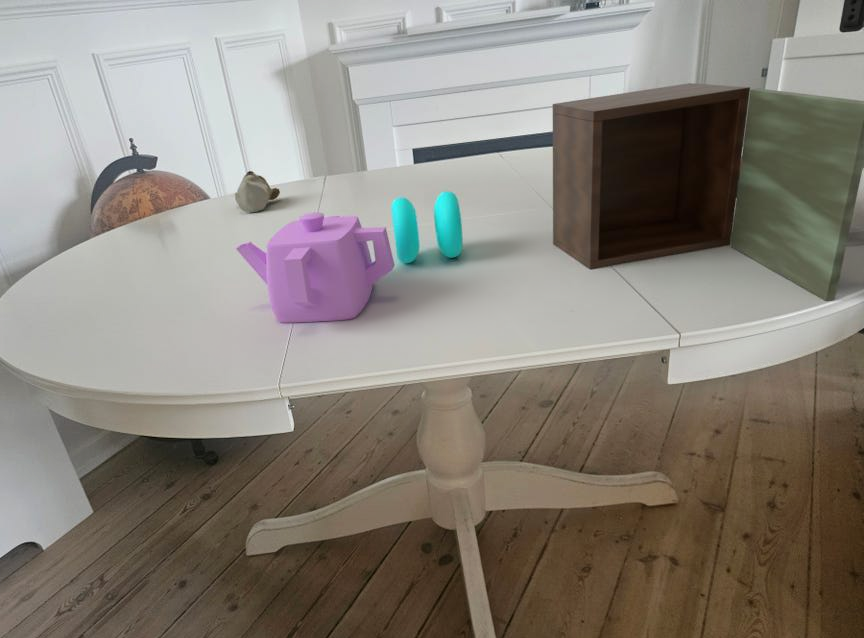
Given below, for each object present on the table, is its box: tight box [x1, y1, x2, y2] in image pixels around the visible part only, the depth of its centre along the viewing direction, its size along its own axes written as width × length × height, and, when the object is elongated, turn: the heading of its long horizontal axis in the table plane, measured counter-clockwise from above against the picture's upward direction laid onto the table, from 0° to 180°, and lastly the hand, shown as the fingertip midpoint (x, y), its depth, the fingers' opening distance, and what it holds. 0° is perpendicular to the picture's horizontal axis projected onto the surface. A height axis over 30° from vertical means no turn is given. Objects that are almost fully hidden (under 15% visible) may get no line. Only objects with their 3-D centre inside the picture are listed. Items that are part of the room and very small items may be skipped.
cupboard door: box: [730, 88, 864, 302], centre depth 73 cm, size 7×20×20 cm, turn 1°
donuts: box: [391, 190, 464, 264], centre depth 96 cm, size 10×10×10 cm
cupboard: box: [552, 82, 751, 271], centre depth 88 cm, size 13×20×20 cm, turn 99°
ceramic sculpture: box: [234, 170, 281, 213], centre depth 147 cm, size 11×9×15 cm
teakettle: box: [236, 211, 395, 324], centre depth 85 cm, size 17×17×12 cm
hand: (855, 28), depth 74 cm, fingers open, 5 cm apart
